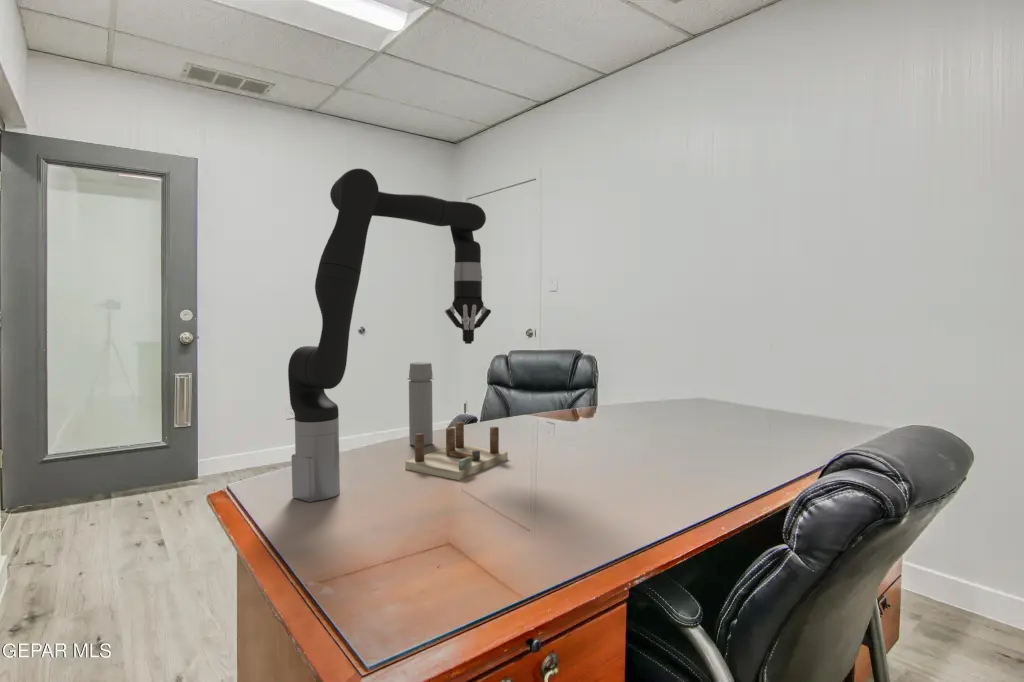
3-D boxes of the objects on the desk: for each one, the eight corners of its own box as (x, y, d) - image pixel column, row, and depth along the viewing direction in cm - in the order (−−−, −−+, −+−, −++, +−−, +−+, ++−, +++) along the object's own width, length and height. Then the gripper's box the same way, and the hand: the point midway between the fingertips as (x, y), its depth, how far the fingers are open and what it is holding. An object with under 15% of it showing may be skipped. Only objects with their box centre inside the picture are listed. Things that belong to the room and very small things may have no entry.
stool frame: (458, 480, 134) (458, 443, 134) (405, 469, 143) (405, 434, 143) (507, 459, 153) (507, 427, 152) (457, 450, 162) (457, 420, 161)
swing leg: (481, 458, 145) (481, 432, 145) (476, 460, 143) (476, 433, 143) (449, 452, 151) (449, 427, 150) (444, 454, 149) (444, 428, 148)
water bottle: (431, 447, 166) (431, 364, 165) (405, 447, 166) (404, 364, 165) (436, 440, 175) (436, 361, 174) (412, 439, 175) (411, 361, 174)
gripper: (487, 281, 156) (487, 342, 157) (441, 280, 152) (441, 343, 153) (495, 279, 148) (495, 344, 149) (446, 278, 144) (446, 344, 145)
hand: (468, 343), depth 151 cm, fingers closed
